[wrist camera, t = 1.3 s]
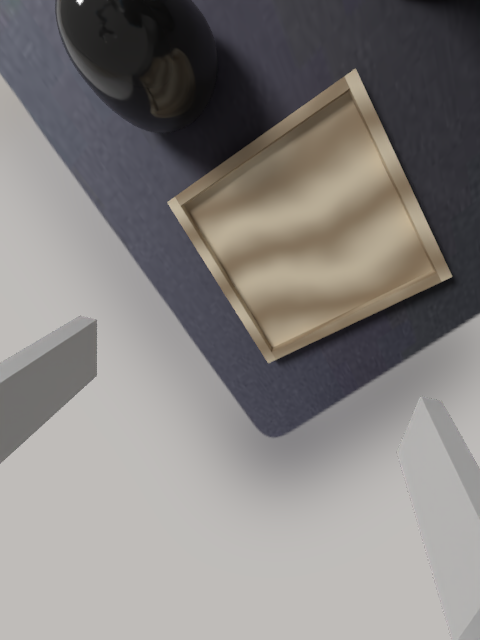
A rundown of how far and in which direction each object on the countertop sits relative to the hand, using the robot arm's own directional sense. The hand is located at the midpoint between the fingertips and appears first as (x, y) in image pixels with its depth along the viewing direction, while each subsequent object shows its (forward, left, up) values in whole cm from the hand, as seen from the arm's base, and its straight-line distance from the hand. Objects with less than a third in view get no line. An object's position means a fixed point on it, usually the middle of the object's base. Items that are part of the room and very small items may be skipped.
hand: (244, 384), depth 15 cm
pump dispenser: (-14, -15, -26) cm, 33 cm away
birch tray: (-3, +1, -26) cm, 26 cm away
